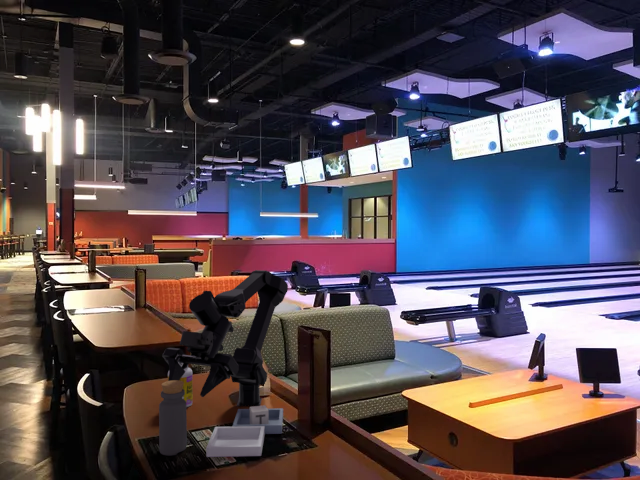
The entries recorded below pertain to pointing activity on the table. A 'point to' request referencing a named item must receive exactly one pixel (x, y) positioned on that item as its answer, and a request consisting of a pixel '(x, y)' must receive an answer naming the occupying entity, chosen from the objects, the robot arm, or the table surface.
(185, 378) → the supplement bottle
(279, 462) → the table surface
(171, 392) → the bottle
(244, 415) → the blue tray
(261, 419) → the white cube
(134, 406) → the table surface
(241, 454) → the grey tray
